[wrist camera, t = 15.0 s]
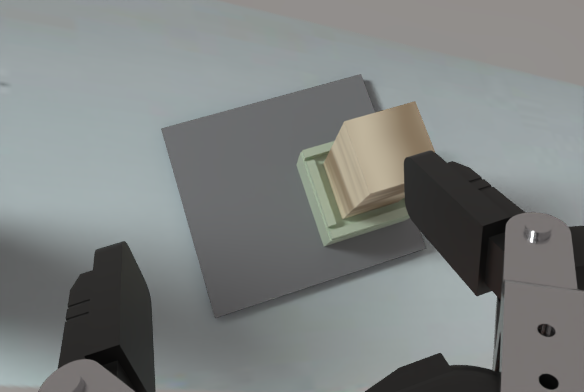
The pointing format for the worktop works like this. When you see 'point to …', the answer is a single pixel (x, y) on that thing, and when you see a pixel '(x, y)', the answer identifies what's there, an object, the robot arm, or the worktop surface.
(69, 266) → the worktop surface
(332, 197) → the green plinth
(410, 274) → the worktop surface
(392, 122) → the birch pillar
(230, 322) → the worktop surface
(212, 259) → the grey flat plate
